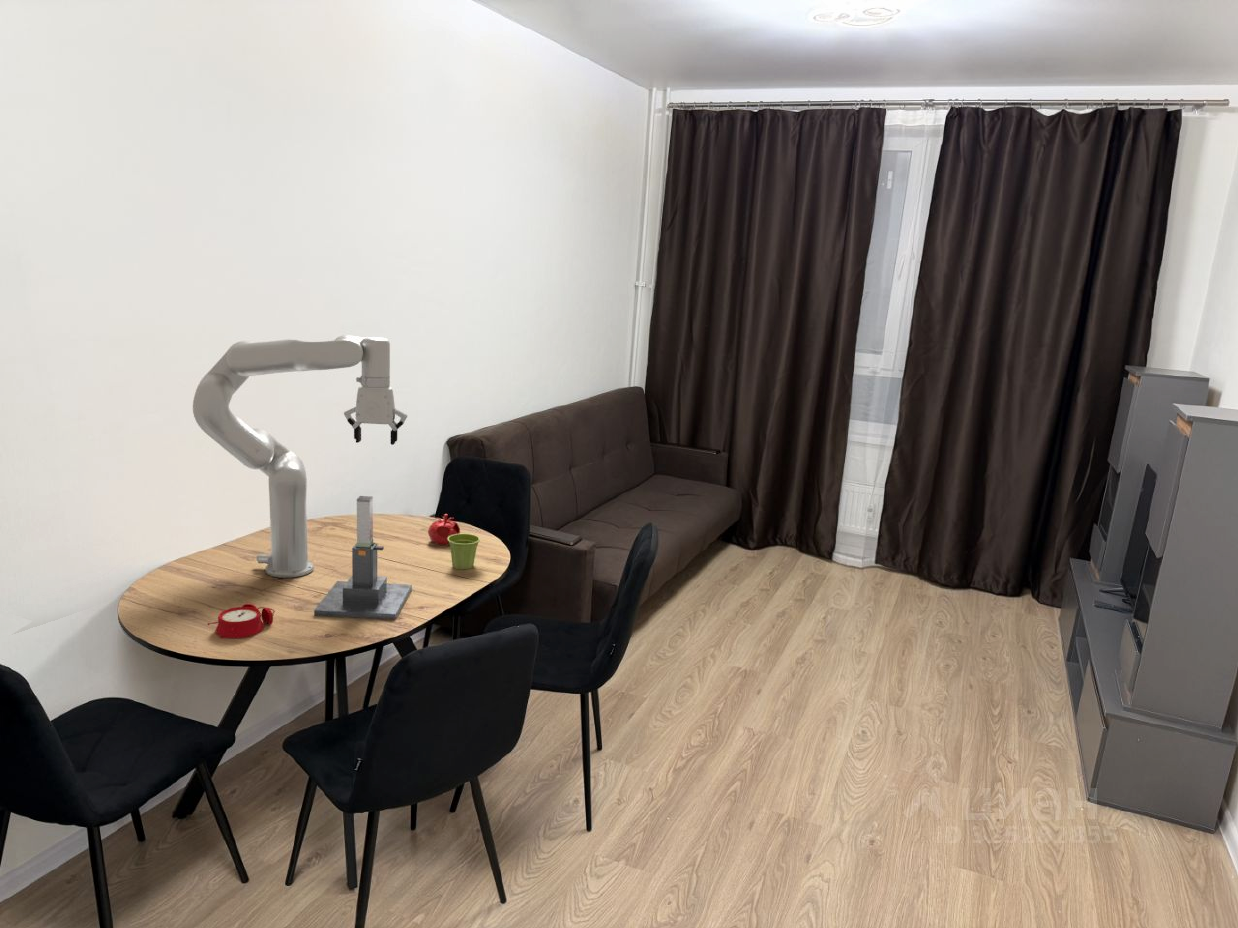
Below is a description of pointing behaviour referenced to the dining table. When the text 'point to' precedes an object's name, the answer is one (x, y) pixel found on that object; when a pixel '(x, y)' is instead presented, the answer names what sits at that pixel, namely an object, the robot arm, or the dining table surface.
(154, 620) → the dining table surface
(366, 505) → the steel post
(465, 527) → the dining table surface
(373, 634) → the dining table surface
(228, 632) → the alarm clock
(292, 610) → the dining table surface
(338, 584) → the charcoal stand
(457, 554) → the plant pot
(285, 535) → the robot arm
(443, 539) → the pomegranate
